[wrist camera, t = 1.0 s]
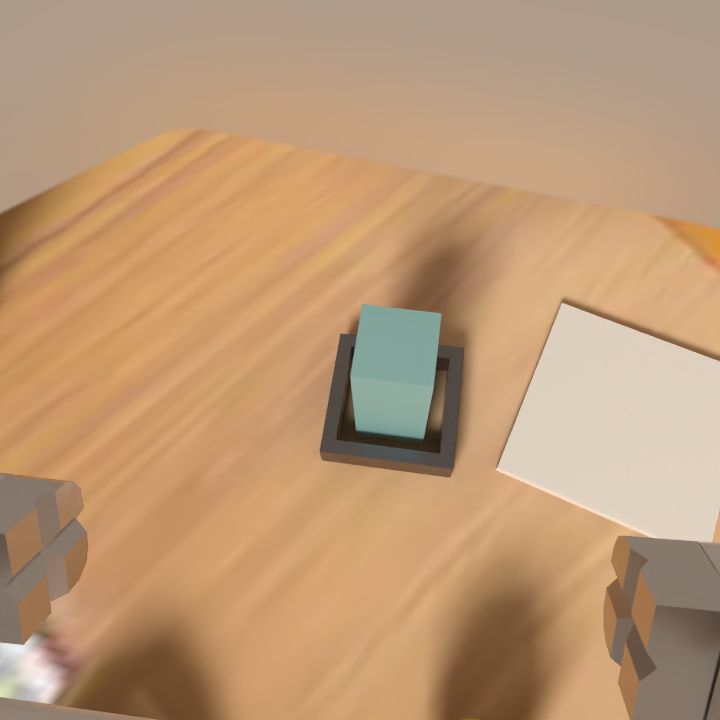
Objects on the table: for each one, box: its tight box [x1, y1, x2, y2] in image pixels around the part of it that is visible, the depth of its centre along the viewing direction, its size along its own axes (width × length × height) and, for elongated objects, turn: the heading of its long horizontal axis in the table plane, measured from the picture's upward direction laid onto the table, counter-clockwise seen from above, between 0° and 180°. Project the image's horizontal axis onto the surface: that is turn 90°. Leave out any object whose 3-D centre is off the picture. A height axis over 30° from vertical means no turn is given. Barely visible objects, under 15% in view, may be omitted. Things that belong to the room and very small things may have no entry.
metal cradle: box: [320, 334, 464, 477], centre depth 39 cm, size 8×8×2 cm
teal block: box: [350, 304, 442, 444], centre depth 36 cm, size 4×4×9 cm
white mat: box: [496, 303, 720, 542], centre depth 39 cm, size 12×12×1 cm
